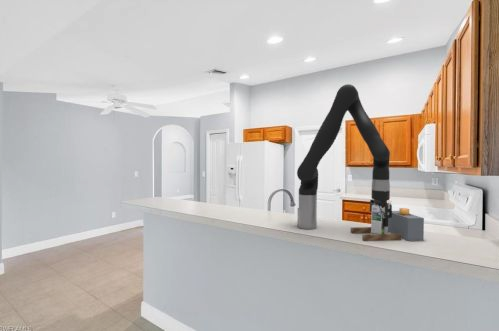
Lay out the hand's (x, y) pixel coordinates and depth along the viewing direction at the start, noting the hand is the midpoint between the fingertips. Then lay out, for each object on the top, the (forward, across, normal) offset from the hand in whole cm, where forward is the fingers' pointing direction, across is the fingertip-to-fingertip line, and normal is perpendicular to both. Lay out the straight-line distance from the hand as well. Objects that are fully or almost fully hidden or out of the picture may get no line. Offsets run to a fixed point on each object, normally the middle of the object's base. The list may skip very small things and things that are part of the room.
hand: (380, 224), depth 123 cm
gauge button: (-3, 0, +12) cm, 12 cm away
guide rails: (+6, 0, -2) cm, 6 cm away
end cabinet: (+6, 0, +12) cm, 13 cm away
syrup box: (+6, 0, 0) cm, 6 cm away
